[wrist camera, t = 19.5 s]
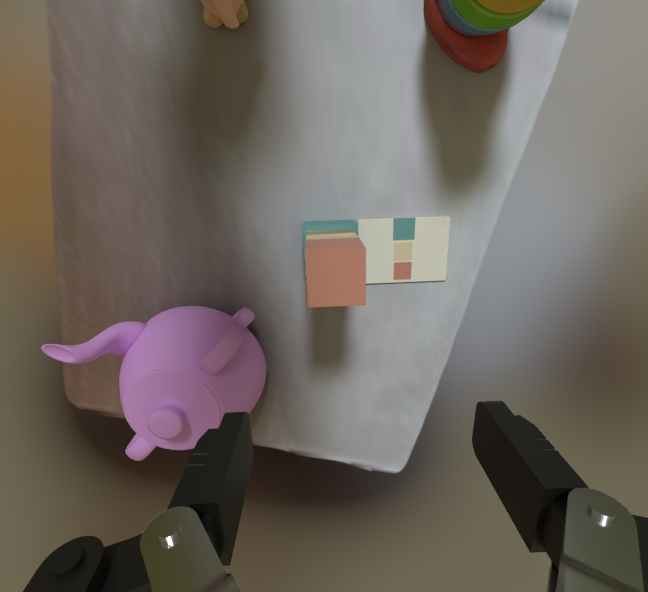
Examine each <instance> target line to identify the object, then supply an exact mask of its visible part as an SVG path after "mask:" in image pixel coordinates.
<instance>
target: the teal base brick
mask: <svg viewBox="0 0 648 592" xmlns="http://www.w3.org/2000/svg"><path fill="white" fill-rule="evenodd" d="M302 230H303V247H304V264H305V280H307V278H306V259H305V248H306V236H307V231H324V230H354V232H355V233H356V235H357V236H358V224H357V223H356V222H355V221H354V220H338V221H314V222H303V226H302Z"/></svg>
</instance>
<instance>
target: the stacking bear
mask: <svg viewBox="0 0 648 592" xmlns="http://www.w3.org/2000/svg"><path fill="white" fill-rule="evenodd" d="M543 2H544V0H425V11H426V17H427V20H428V24H429V26H430V28H431V30H432V32H433V34H434V36H435V38H436V40H437V41H438V43H439V44H440V45H441V47H442V48H443V49H444V50H445V52H446V53H447V54H448V55H449V56H450V57H451V58H452V59H454V60H455V61H456V62H458V63H459V64H461V65H462V66H464V67H466V68H468V69H470V70H473V71H476V72H484V71H486V70H487V69H488V68H493V67H494V66H495V65H496V64H497V63H498V62H499V60H500V57H501V56H502V54H503V53H504V51H505V48H506V43H507V32H508V28H510V27H512V26H514V25H516V24H517V23H519V22H520V21H522V20H523V19H525V18H526V17H528V16H529V15H530V14H531V13H532V12H534V11H535V10H536V9H537V8H538V7H539V6H540V5H541V4H542V3H543Z"/></svg>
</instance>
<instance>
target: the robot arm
mask: <svg viewBox="0 0 648 592" xmlns="http://www.w3.org/2000/svg"><path fill="white" fill-rule="evenodd" d="M472 443H473V448H474V452H475V454H476V457H477V459H478V460H479V462H480V464H481V466H482V467H483V469H484V471H485V472H486V475H487V476H488V478H489V480H490V482H491V484H492V485H493V487H494V489H495V491H496V492H497V494H498V496H499V498H500V500H501V501H502V503H503V505H504V507H505V508H506V510H507V512H508V514H509V515H510V517H511V519H512V521H513V523H514V524H515V526H516V528H517V530H518V532H519V533H520V535H521V537H522V539H523V540H524V542H525V544H526V546H527V548H528V549H529V551H530V552H546V553H547V554H548V556H549V557H550V559H551V564H550V568H549V576H548V585H547V592H648V518H645V517H640V516H636V515H632V514H631V513H630V512H629V511H628V509H627V508H626V507H624V506H623V505H622V504H621V503H620V502H618V501H617V500H615V499H614V498H612V497H610V496H609V495H607V494H605V493H603V492H600V491H597V490H594V489H590V488H589V487H588V486H587V485H586V484H585V483H584V481H583V480H582V479H581V478H580V477H579V476H578V474H577V473H576V472H575V471H574V470H573V469H572V467H570V465H569V464H568V463H567V462H566V461H565V459H564V458H563V457H562V456H561V455H560V454H559V452H558V451H555V449H554V447H553V446H552V444H551V443H550V442H549V441H548V440H546V438H545V436H544V435H543V434H542V433H541V432H540V431H539V429H538V428H537V427H536V426H535V425H534V424H532V423H530V422H529V421H528V420H526V419H525V418H523V417H522V416H520V415H518V416H514V414H513V413H512V412H511V411H510V409H509V408H508V407H507V406H506V405H505V403H504V402H502V401H488V402H487V401H486V402H478V403H477V406H476V412H475V420H474V428H473V436H472ZM252 460H253V445H252V438H251V430H250V423H249V416H248V413H247V412H226V413H225V414H224V416H223V418H222V421H221V423H220V426H219V428H214V429H208V430H207V431H206V432H205V433H204V434H203V435H202V436H201V437H200V438H199V439H198V441H197V443H196V446H195V448H194V450H193V453H192V456H191V457H190V459H189V462H188V465H187V466H186V468H185V471H184V473H183V475H182V477H181V479H180V482H179V484H178V486H177V489H176V491H175V493H174V495H173V497H172V500H171V502H170V504H169V507H168V508H167V510H166V511H164V512H162V513H160V514H159V515H158V516H156V517H155V518H154V519H153V520H152V521H151V522H150V523H149V524H148V525H147V526H146V528H145V530H144V531H143V533H142V534H140V535H138V536H135V537H133V538H130V539H127V540H124V541H121V542H119V543H115V544H113V545H110V546H107V547H104V546H103V543H102V542H101V540H100V539H98V538H97V537H94V536H84V537H79V538H76V539H73V540H71V541H69V542H67V543H65V544H63V545H62V546H60V547H59V548H57V549H56V550H55V551H54V552H52V553H51V554H50V555H49V556H48V557H47V558H46V559H45V560H44V561H43V562H42V564H41V565H40V567H39V568H38V569H37V571H36V572H35V574H34V575H33V577H32V579H31V580H30V582H29V583H28V585H27V586H26V588H25V589H24V591H23V592H241V591H240V588H239V587H238V584H237V583H236V581H235V579H234V577H233V576H232V575H231V574H230V573H229V574H227V573H226V571H225V570H224V568H223V566H225V565H230V562H231V558H232V553H233V549H234V544H235V540H236V535H237V531H238V526H239V522H240V517H241V512H242V508H243V504H244V499H245V495H246V490H247V485H248V481H249V476H250V472H251V467H252Z"/></svg>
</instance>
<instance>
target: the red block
mask: <svg viewBox="0 0 648 592" xmlns="http://www.w3.org/2000/svg"><path fill="white" fill-rule="evenodd" d="M305 259H306V278H307V296H308V307H334V306H359V305H366V247H365V246H364V244H363V243H362V241H361V240H360V238H333V239H307V241H306V248H305Z"/></svg>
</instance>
